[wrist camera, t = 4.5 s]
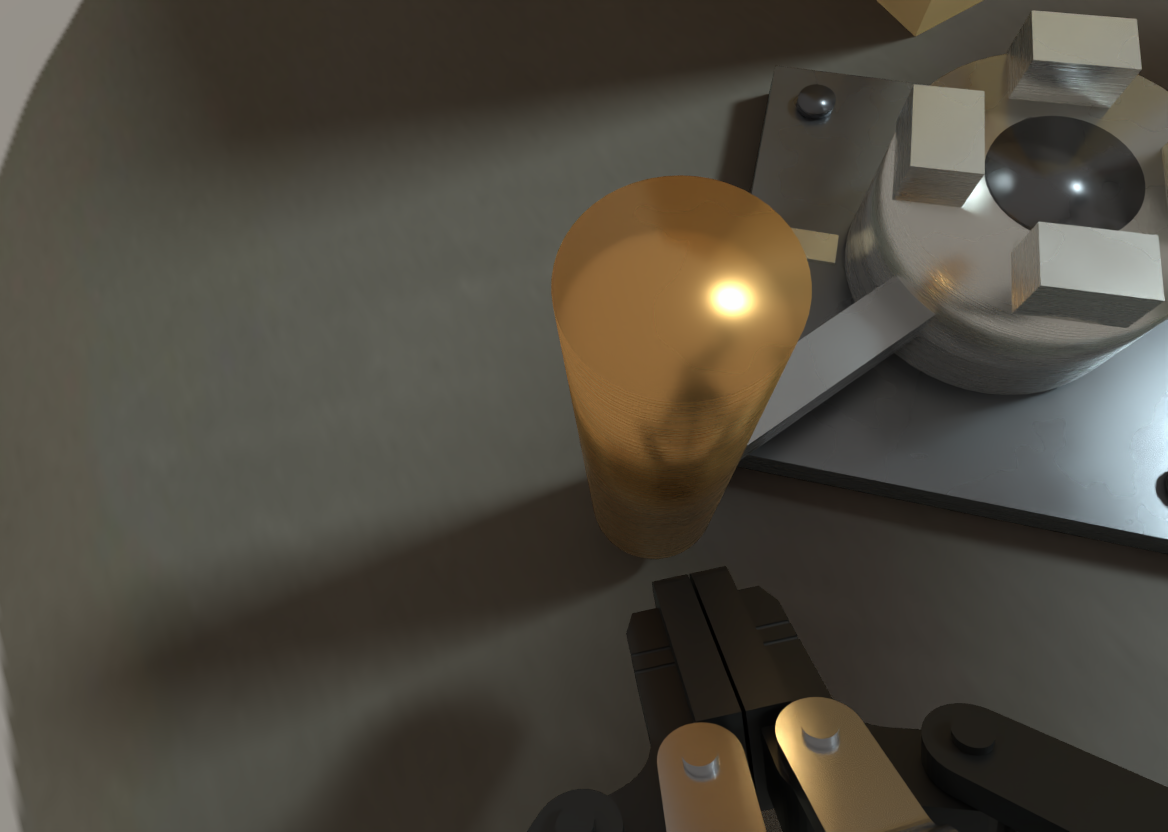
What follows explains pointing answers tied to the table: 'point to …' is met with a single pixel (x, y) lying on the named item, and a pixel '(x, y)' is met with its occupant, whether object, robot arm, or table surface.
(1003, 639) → the table surface
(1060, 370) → the crank handle
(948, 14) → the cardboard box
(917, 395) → the hub plate
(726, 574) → the robot arm
